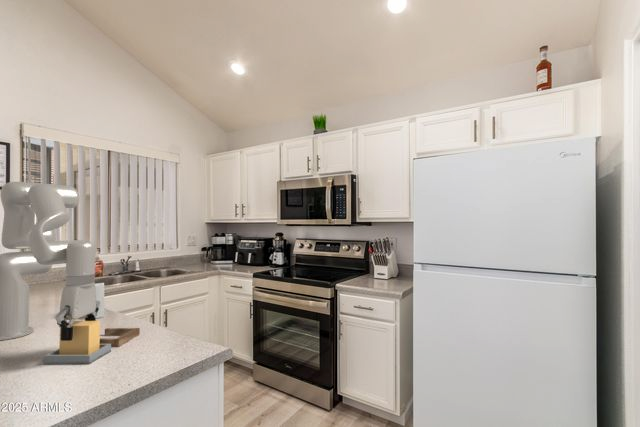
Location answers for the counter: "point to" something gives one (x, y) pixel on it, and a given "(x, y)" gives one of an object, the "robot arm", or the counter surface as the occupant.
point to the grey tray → (77, 356)
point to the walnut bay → (124, 334)
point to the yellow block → (82, 339)
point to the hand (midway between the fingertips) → (78, 334)
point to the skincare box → (100, 299)
